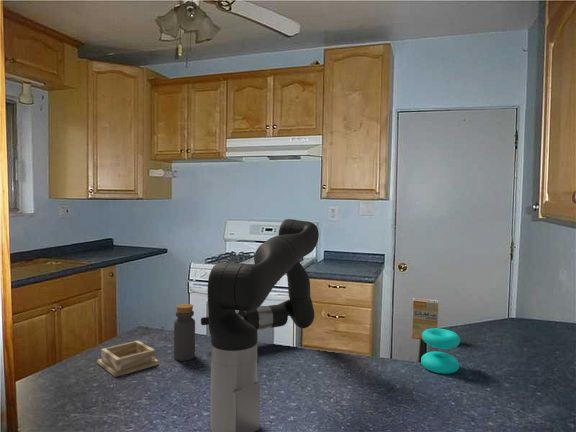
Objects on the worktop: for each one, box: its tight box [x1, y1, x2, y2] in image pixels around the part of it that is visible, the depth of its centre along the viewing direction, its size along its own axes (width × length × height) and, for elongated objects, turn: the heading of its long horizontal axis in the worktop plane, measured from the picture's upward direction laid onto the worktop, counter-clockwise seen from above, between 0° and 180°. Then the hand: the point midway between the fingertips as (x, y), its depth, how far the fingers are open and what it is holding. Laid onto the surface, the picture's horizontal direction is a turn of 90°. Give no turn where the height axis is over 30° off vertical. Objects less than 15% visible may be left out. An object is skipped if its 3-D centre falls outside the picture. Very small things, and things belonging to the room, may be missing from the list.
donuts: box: [420, 327, 461, 375], centre depth 116 cm, size 10×10×10 cm
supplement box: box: [411, 297, 439, 341], centre depth 141 cm, size 8×5×13 cm, turn 73°
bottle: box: [173, 303, 196, 362], centre depth 121 cm, size 6×6×15 cm
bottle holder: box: [97, 340, 160, 378], centre depth 115 cm, size 12×12×4 cm
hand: (205, 325), depth 123 cm, fingers open, 8 cm apart
